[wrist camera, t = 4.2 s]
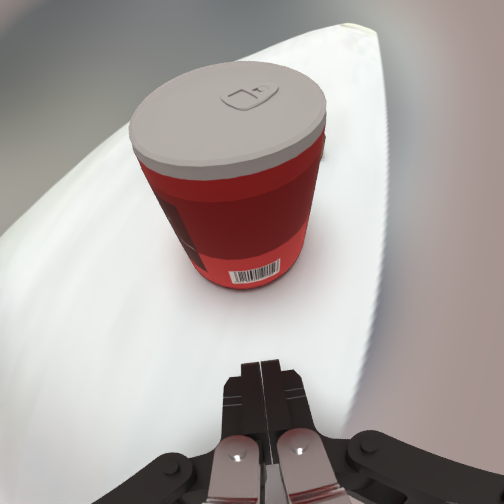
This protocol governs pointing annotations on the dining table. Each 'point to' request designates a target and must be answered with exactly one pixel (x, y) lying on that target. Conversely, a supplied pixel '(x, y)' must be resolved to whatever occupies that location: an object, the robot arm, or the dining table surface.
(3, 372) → the dining table surface
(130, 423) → the dining table surface
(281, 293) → the dining table surface
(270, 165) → the canned food
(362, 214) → the dining table surface
